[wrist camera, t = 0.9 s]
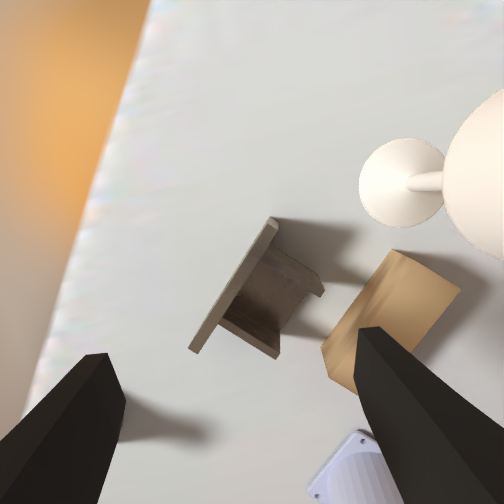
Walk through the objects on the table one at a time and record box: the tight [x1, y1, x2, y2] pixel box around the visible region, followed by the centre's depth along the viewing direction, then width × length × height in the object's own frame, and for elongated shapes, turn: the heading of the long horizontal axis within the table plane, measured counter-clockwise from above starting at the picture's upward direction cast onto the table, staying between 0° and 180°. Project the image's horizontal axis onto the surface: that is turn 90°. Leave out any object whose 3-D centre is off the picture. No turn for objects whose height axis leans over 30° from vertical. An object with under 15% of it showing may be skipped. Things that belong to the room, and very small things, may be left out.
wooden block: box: [321, 250, 461, 396], centre depth 24 cm, size 10×4×5 cm, turn 148°
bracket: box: [188, 217, 325, 360], centre depth 24 cm, size 6×10×6 cm, turn 148°
